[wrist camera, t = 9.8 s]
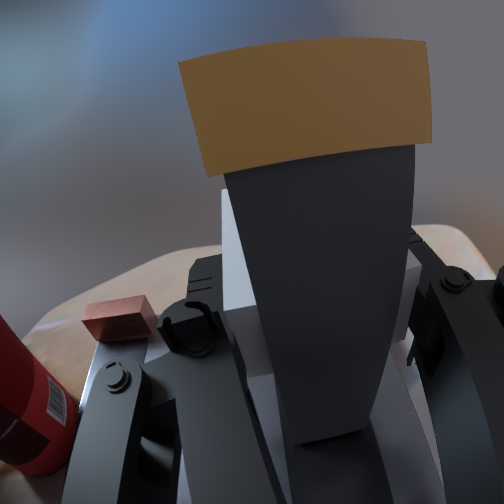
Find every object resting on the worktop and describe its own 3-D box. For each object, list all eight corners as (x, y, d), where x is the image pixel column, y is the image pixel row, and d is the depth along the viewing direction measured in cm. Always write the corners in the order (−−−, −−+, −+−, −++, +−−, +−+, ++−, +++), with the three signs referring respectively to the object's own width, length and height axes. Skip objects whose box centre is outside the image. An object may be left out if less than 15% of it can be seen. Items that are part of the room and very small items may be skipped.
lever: (289, 450, 10) (178, 62, 3) (278, 383, 13) (201, 67, 6) (371, 430, 10) (425, 42, 3) (350, 367, 13) (344, 47, 6)
